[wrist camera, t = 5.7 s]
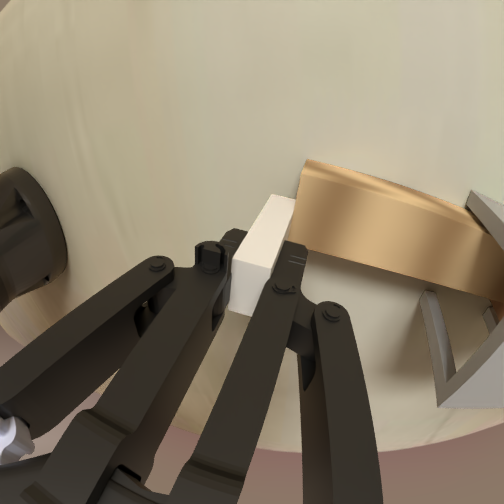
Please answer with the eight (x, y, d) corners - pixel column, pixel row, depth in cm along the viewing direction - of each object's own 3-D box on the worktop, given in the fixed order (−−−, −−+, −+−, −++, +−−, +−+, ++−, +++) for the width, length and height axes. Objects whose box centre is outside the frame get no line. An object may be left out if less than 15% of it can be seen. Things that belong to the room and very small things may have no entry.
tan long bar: (294, 219, 18) (286, 243, 15) (307, 159, 15) (301, 173, 13) (493, 277, 15) (506, 304, 13) (516, 232, 13) (535, 256, 10)
